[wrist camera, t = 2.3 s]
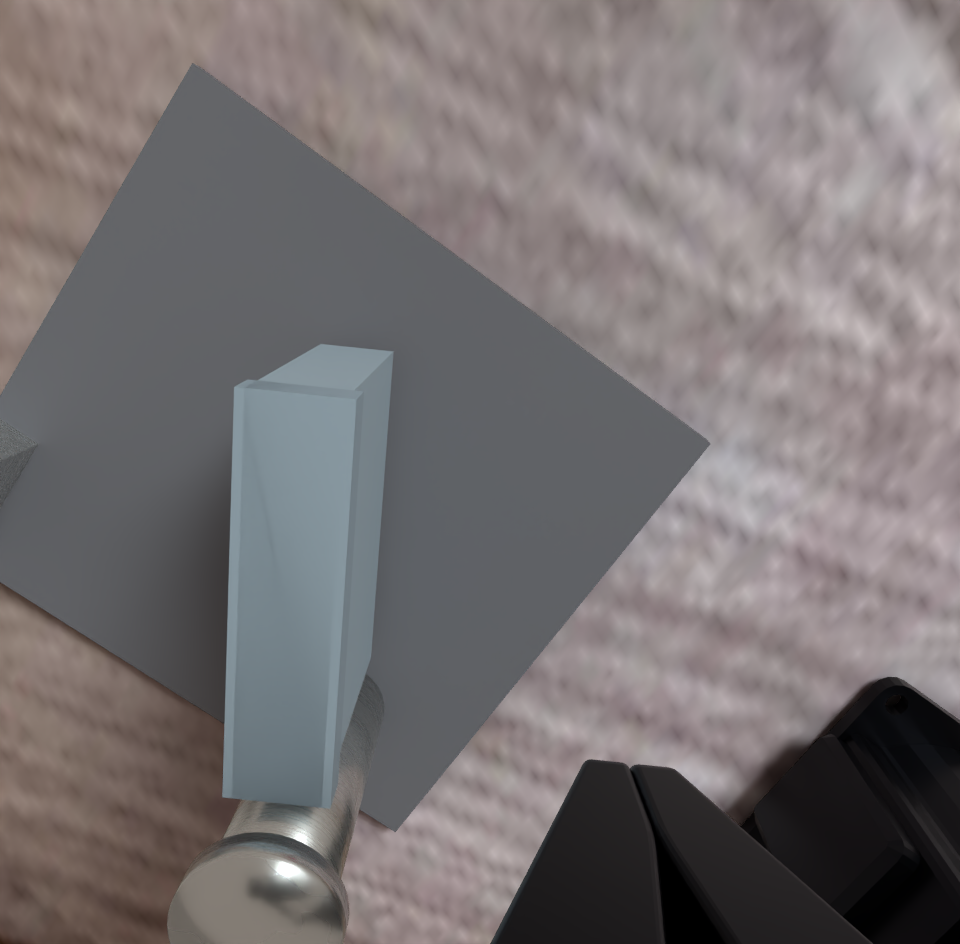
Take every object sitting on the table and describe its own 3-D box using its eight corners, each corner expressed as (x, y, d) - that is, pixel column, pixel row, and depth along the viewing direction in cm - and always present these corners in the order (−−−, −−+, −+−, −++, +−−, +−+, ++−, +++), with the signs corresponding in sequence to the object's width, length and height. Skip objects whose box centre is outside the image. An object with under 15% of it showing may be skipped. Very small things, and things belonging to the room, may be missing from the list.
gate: (377, 658, 20) (330, 809, 15) (297, 650, 20) (222, 797, 15) (400, 351, 18) (356, 399, 13) (313, 343, 18) (234, 387, 13)
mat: (705, 438, 20) (710, 443, 19) (397, 819, 22) (395, 832, 22) (200, 67, 18) (192, 62, 18) (-65, 525, 21) (-79, 532, 20)
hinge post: (422, 685, 21) (377, 919, 14) (358, 768, 22) (282, 1033, 15) (324, 620, 21) (226, 825, 14) (261, 706, 22) (135, 946, 14)
